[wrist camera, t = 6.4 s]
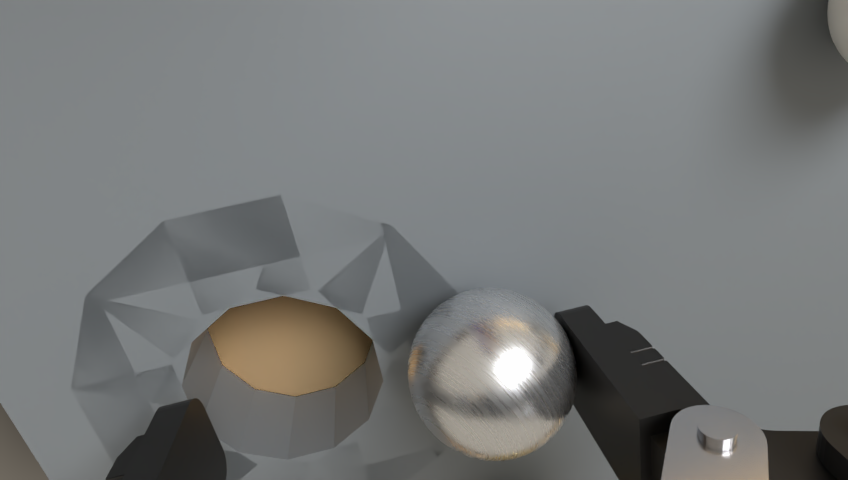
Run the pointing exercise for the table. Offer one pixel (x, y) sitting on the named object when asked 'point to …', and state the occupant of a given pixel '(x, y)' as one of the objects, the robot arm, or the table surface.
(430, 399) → the steel ball
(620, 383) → the robot arm
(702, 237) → the plate
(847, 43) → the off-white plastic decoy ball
